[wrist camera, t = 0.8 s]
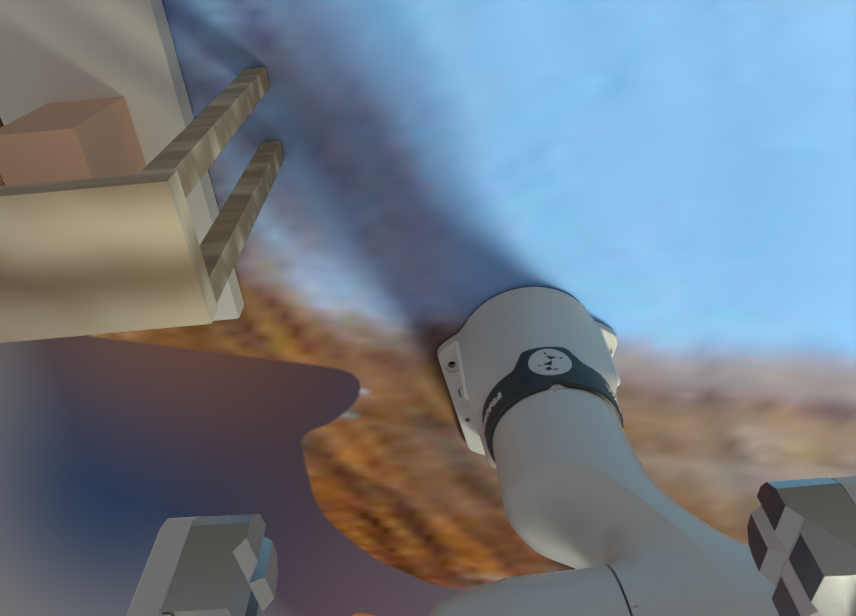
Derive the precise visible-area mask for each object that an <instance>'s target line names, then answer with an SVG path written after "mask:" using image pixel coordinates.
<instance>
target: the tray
mask: <svg viewBox="0 0 856 616" xmlns="http://www.w3.org/2000/svg"><path fill="white" fill-rule="evenodd" d="M122 96H124V97H125V100H126V103H127V106H128V109H129V112H130V115H131V119H132V122H133V125H134V128H135V131H136V134H137V137H138V140H139V143H140V146H141V150H142V153H143V156H144V159H145V162H146V165H148V164H149V163H150V162H151V161H152V160H153V159H154V158H155V157H156V156H157V155H158V154H159V153H160V152H161V151H162V150H163V149H164V148H165V147H166V146H167V145H168V144H169V143H170V142H171V141H172V140H174V139H175V138H176V137H177V136H178V135H179V134H180V133H181V132H182V131H183V130H184V129H185V128H186V127H187V126H188V125H189V124H190V123H191V122H192V121H193V120H194V117H193V114H192V110H191V106H190V103H189V99H188V95H187V92H186V88H185V84H184V81H183V77H182V73H181V69H180V66H179V62H178V58H177V55H176V51H175V47H174V44H173V40H172V36H171V33H170V29H169V25H168V21H167V18H166V14H165V10H164V7H163V3H162V0H0V117H1V120H2V122H3V124H4V126H5V125H7V124H9V123H11V122H13V121H14V120H16V119H18V118H20V117H22V116H24V115H26V114H28V113H30V112H32V111H34V110H36V109H38V108H40V107H41V106H43V105H45V104H47V103H57V102H68V101H78V100H89V99H100V98H111V97H122ZM186 202H187V205H188V208H189V212H190V215H191V219H192V222H193V225H194V229H195V232H196V235H197V239H198V242H199V245H200V244H201V242H202V241H203V239H204V237H205V236H206V234H207V233H208V231H209V229H210V228H211V226H212V224H213V223H214V221H215V219H216V218H217V216H218V214H219V210H218V206H217V202H216V199H215V195H214V191H213V188H212V184H211V180H210V177H209V173H208V170H207V171H206V172H205V174H204V175H203V176H202V178H201V179H200V180H199V181H198V183H197V184H196V185H195V187H194V188H193V189H192V191H191V192H190V193H189V195H188V196H187V197H186ZM217 306H218V310H217V312H216V314H215V316H214V319H213V321H215V320H226V319H237V318H239V317H240V314H241V312H242V309H243V307H244V302H243V298H242V295H241V291H240V287H239V284H238V280H237V276H236V272H235V269H234V268H233V270H232V272H231V274H230V276H229V279H228V281H227V283H226V285H225V287H224V289H223V291H222V294H221V296H220V298H219V300H218V302H217Z"/></svg>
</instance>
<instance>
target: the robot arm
mask: <svg viewBox="0 0 856 616" xmlns="http://www.w3.org/2000/svg"><path fill="white" fill-rule="evenodd" d="M617 343H618V339H617V336H616V333H615V332H614V331H613V330H612V329H611V328H609V327H608V326H606V325H604V324H602V323H599V322H597V321H595V320H594V319H593V318H592V317H591V315H590V314H589V313H588V311H587V310H586V309H585V308H584V306H583V305H582V304H581V303H580V302H578V301H577V300H576V299H574V298H573V297H571V296H570V295H568V294H566V293H564V292H561V291H558V290H555V289H551V288H545V287H524V288H518V289H514V290H510V291H507V292H504V293H501V294H499V295H497V296H495V297H493V298H491V299H490V300H488V301H487V302H485V303H484V304H483V305H481V306H480V307H479V308H478V309H477V310H476V311H475V312H474V313H473V314H472V315H471V316H470V318H469V319H468V320H467V322H466V323H465V325H464V326H463V328H462V329H461V330H460V331H459V332H458V333H457V334H456V335H454V336H453V337H451V338H450V339H448V340H447V341H445V342H444V343H443V344H442V345H441V346H440V347H439V348H438V350H437V356H438V359H439V362H440V365H441V368H442V371H443V374H444V377H445V380H446V383H447V386H448V389H449V392H450V395H451V398H452V401H453V404H454V407H455V410H456V413H457V416H458V419H459V422H460V425H461V428H462V431H463V434H464V437H465V440H466V443H467V445H468V448H469V449H470V450H471V451H474V452H476V453H479V454H483V455H486V458H487V461H488V464H489V465H491V466H492V467H494V468H496V469H497V474H498V479H499V485H500V490H501V495H502V500H503V506H504V511H505V514H506V517H507V519H508V521H509V523H510V524H511V526H512V527H513V529H514V530H515V531H516V533H517V534H518V535H519V536H520V537H521V538H522V539H523V540H524V542H526V543H527V544H528V545H529V546H530V547H531V548H532V549H533V550H535V551H536V552H538V553H539V554H541V555H543V556H545V557H547V558H549V559H552V560H554V561H557V562H560V563H562V564H565V565H568V566H571V567H573V568H576V569H574V570H566V571H558V572H550V573H542V574H534V575H526V576H518V577H510V578H504V579H501V580H498V581H495V582H492V583H489V584H486V585H483V586H479V587H476V588H473V589H471V590H468V591H465V592H463V593H460V594H458V595H455V596H452V597H449V598H447V599H444V600H442V601H440V602H439V603H438V604H437V606H436V607H435V608H434V610H433V611H432V613H431V614H430V616H856V476H852V477H840V478H828V477H825V478H812V479H799V480H786V481H774V482H766V483H764V484H763V485H762V486H761V487H760V489H759V492H758V495H757V497H758V499H759V501H760V503H761V505H762V506H760V507H759V508H758V509H756V510H755V511H753V512H752V513H751V515H750V518H749V522H748V526H747V530H748V543H749V545H746V544H744V543H741V542H739V541H737V540H735V539H733V538H731V537H729V536H727V535H725V534H723V533H721V532H720V531H718V530H716V529H714V528H713V527H711V526H709V525H707V524H706V523H704V522H703V521H701V520H700V519H698V518H697V517H695V516H694V515H692V514H691V513H690V512H688V511H687V510H686V509H684V508H683V507H681V506H680V505H679V504H678V503H676V502H675V501H674V500H673V499H671V498H670V497H669V496H668V495H667V494H666V493H665V492H664V491H663V490H662V489H660V488H659V486H658V485H657V484H656V483H655V482H654V481H653V480H652V479H651V477H650V476H649V475H648V473H647V472H646V470H645V469H644V467H643V465H642V463H641V462H640V460H639V458H638V457H637V455H636V453H635V451H634V449H633V447H632V446H631V444H630V442H629V440H628V438H627V436H626V434H625V432H624V430H623V419H622V415H621V411H620V407H619V404H618V401H617V399H616V398H617V394H616V390H617V386H619V385H620V377H619V374H618V371H617V369H616V366H615V363H614V361H613V355H614V352H615V349H616V346H617ZM449 362H455V363H454V364H449ZM265 527H266V525H265V523H264V521H263V519H262V517H261V515H260V514H252V515H231V516H209V517H186V518H169V519H167V521H166V522H165V523H164V524H163V526H162V527H161V528H160V530H159V533H158V535H157V538H156V540H155V543H154V546H153V548H152V551H151V553H150V556H149V558H148V561H147V564H146V566H145V569H144V571H143V574H142V577H141V579H140V582H139V584H138V587H137V589H136V592H135V595H134V598H133V600H132V602H131V605H130V607H129V610H128V612H127V615H126V616H264V614H263V610H264V609H265V608H266V607H267V606H268V605H269V603H270V602H271V601H272V600H273V599H274V595H275V590H276V585H277V570H278V561H277V556H276V550H275V547H274V545H273V542H272V541H270V540H269V539H267V538H265V537H264V531H265Z"/></svg>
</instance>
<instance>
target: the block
mask: <svg viewBox="0 0 856 616" xmlns="http://www.w3.org/2000/svg"><path fill="white" fill-rule="evenodd" d="M146 166H147V165H146V162H145V159H144V156H143V153H142V150H141V146H140V143H139V140H138V137H137V134H136V131H135V128H134V125H133V122H132V119H131V115H130V112H129V109H128V106H127V103H126V100H125V97H124V96H122V97H111V98H100V99H89V100H78V101H68V102H57V103H47V104H45V105H43V106H41V107H40V108H38V109H36V110H34V111H32V112H30V113H28V114H26V115H24V116H22V117H20V118H18V119H16V120H14V121H13V122H11V123H9V124H7V125H5V126H3V127H1V128H0V175H1V177H2V179H3V181H4V184H5V186H8V185H19V184H30V183H41V182H52V181H63V180H74V179H85V178H96V177H107V176H118V175H129V174H139V173H140V172H141V171H142V170H143V169H144V168H145V167H146Z"/></svg>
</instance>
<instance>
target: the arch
mask: <svg viewBox="0 0 856 616" xmlns="http://www.w3.org/2000/svg"><path fill="white" fill-rule="evenodd" d="M269 88H270V85H269V80H268V75H267V70H266V67H257V68H246V69H245V70H244V71H243V72H242V73H241V74H240V75H239V76H238V77H237V78H236V79H235V80H234V81H233V82H232V83H231V84H230V85H229V86H228V87H227V88H226V89H225V90H224V91H223V92H222V93H221V94H219V95H218V96H217V97H216V98H215V99H214V100H213V101H212V102H211V103H210V104H209V105H208V106H207V107H206V108H205V109H204V110H203V111H202V112H201V113H200V114H199V115H198V116H197V117H196V118H195V119H194V120H193V121H192V122H191V123H190V124H189V125H188V126H187V127H186V128H185V129H184V130H183V131H182V132H181V133H180V134H179V135H178V136H177V137H176V138H175V139H174V140H172V141H171V142H170V143H169V144H168V145H167V146H166V147H165V148H164V149H163V150H162V151H161V152H160V153H159V154H158V155H157V156H156V157H155V158H154V159H153V160H152V161H151V162H150V163H149V164H148V165H147V166H146V167H145V168H144V169H143V170H142V171H141V172H140V173H139V174H129V175H118V176H107V177H96V178H85V179H74V180H63V181H52V182H41V183H30V184H19V185H8V186H0V343H4V342H15V341H26V340H37V339H48V338H59V337H70V336H81V335H92V334H103V333H114V332H125V331H136V330H147V329H158V328H169V327H180V326H191V325H202V324H211V323H212V321H213V319H214V316H215V314H216V312H217V310H218V306H217V302H218V300H219V298H220V296H221V294H222V291H223V289H224V287H225V285H226V283H227V281H228V279H229V276H230V274H231V272H232V270H233V268H234V266H235V264H236V261H237V259H238V257H239V255H240V253H241V251H242V249H243V246H244V244H245V242H246V240H247V238H248V236H249V234H250V231H251V229H252V227H253V225H254V223H255V221H256V219H257V216H258V214H259V212H260V210H261V208H262V206H263V203H264V201H265V199H266V197H267V195H268V193H269V191H270V188H271V186H272V184H273V182H274V180H275V178H276V176H277V173H278V171H279V169H280V167H281V165H282V163H283V161H284V154H283V149H282V144H281V140H279V141H268V142H262V143H261V145H260V146H259V148H258V150H257V151H256V153H255V155H254V156H253V158H252V160H251V161H250V163H249V165H248V166H247V168H246V170H245V171H244V173H243V175H242V176H241V178H240V180H239V181H238V183H237V184H236V186H235V188H234V189H233V191H232V193H231V194H230V196H229V198H228V199H227V201H226V203H225V204H224V206H223V208H222V209H221V211H220V213H219V214H218V216H217V218H216V219H215V221H214V223H213V224H212V226H211V228H210V229H209V231H208V233H207V234H206V236H205V237H204V239H203V241H202V242H201V244H200V245H199V242H198V239H197V235H196V232H195V229H194V225H193V222H192V219H191V215H190V212H189V208H188V205H187V202H186V197H187V196H188V195H189V193H190V192H191V191H192V189H193V188H194V187H195V185H196V184H197V183H198V181H199V180H200V179H201V178H202V176H203V175H204V174H205V172H206V171H207V170H208V168H209V167H210V166H211V164H212V163H213V162H214V160H215V159H216V158H217V156H218V155H219V154H220V152H221V151H222V150H223V149H224V147H225V146H226V145H227V143H228V142H229V141H230V139H231V138H232V137H233V135H234V134H235V133H236V131H237V130H238V129H239V127H240V126H241V125H242V123H243V122H244V121H245V120H246V118H247V117H248V116H249V114H250V113H251V112H252V110H253V109H254V108H255V106H256V105H257V104H258V102H259V101H260V100H261V98H262V97H263V96H264V94H265V93H266V92H267V91H268V89H269Z"/></svg>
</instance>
